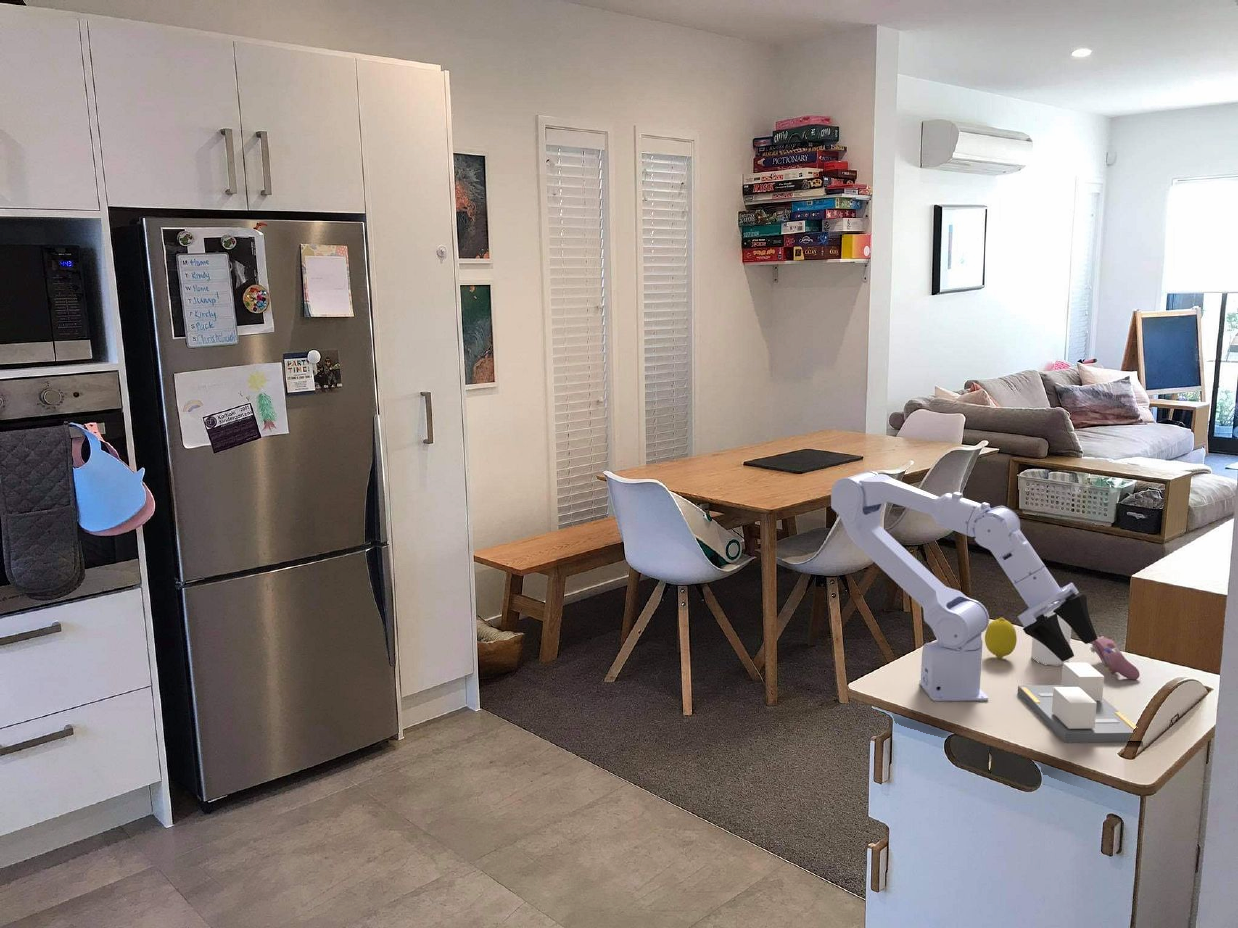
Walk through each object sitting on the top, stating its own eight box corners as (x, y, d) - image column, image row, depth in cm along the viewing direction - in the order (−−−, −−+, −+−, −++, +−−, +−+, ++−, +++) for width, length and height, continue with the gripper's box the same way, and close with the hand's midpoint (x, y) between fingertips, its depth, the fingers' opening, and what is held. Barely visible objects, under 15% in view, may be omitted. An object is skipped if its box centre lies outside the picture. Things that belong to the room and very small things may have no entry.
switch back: (1077, 700, 160) (1079, 676, 160) (1061, 685, 166) (1063, 662, 166) (1102, 700, 160) (1104, 676, 160) (1085, 685, 166) (1086, 662, 165)
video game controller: (1097, 667, 183) (1082, 635, 182) (1120, 657, 182) (1105, 625, 181) (1118, 689, 173) (1102, 655, 172) (1143, 678, 172) (1127, 644, 171)
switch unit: (1064, 742, 150) (1065, 732, 150) (1017, 693, 168) (1018, 684, 167) (1142, 741, 150) (1143, 731, 150) (1087, 693, 168) (1088, 684, 167)
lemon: (1019, 663, 181) (1022, 622, 179) (989, 664, 181) (992, 623, 179) (1008, 652, 186) (1011, 612, 185) (979, 652, 186) (981, 612, 185)
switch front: (1068, 728, 151) (1070, 702, 150) (1051, 711, 156) (1053, 687, 156) (1094, 728, 151) (1096, 702, 150) (1076, 711, 156) (1078, 686, 156)
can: (1072, 667, 179) (1077, 605, 176) (1034, 665, 180) (1039, 603, 178) (1064, 654, 185) (1068, 594, 183) (1027, 652, 186) (1031, 592, 184)
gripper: (1024, 579, 150) (1077, 657, 146) (1070, 551, 159) (1122, 624, 155) (991, 597, 155) (1042, 673, 152) (1037, 569, 164) (1086, 640, 160)
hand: (1080, 650), depth 154 cm, fingers open, 7 cm apart
